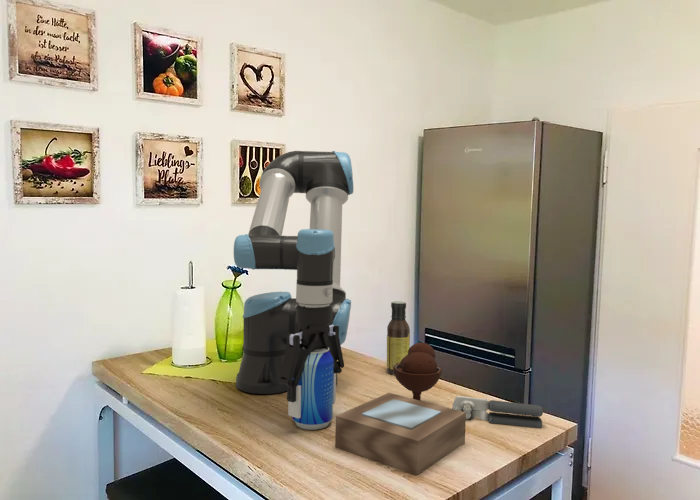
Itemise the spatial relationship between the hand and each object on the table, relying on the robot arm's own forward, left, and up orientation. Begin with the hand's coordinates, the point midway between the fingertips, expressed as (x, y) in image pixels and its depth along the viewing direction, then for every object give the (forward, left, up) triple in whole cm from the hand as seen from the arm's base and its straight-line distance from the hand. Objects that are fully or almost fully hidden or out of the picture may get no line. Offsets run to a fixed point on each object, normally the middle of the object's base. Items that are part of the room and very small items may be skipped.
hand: (312, 409), depth 121 cm
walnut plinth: (+20, +3, -3) cm, 20 cm away
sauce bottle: (-6, +42, -3) cm, 43 cm away
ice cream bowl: (+12, +22, -3) cm, 25 cm away
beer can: (0, 0, -3) cm, 3 cm away
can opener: (+29, +27, -4) cm, 40 cm away
